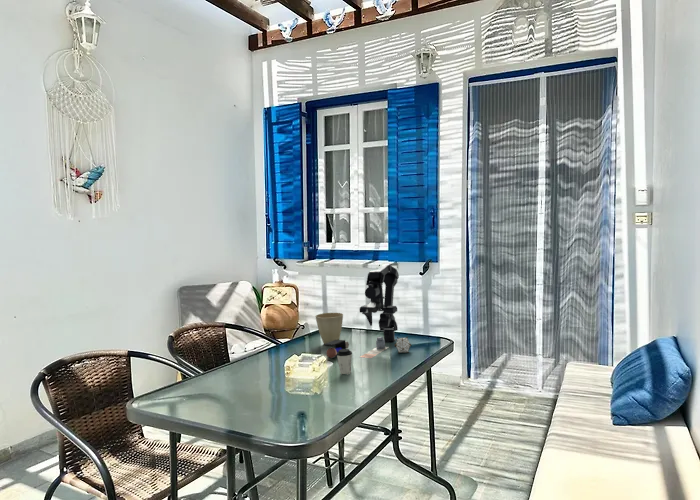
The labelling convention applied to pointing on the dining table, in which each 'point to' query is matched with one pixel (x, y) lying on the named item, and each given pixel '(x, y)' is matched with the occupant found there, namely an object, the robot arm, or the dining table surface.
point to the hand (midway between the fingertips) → (379, 326)
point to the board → (373, 353)
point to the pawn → (380, 343)
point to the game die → (402, 345)
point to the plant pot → (329, 326)
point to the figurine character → (336, 347)
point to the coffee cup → (344, 360)
